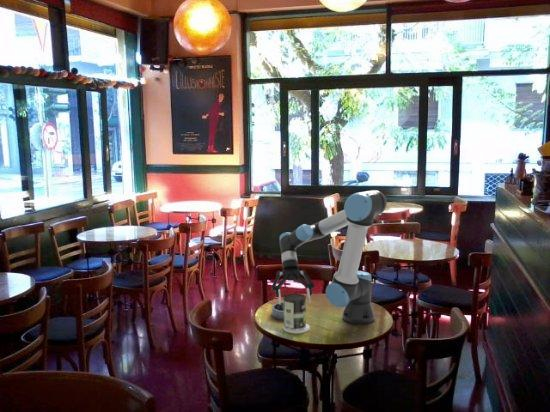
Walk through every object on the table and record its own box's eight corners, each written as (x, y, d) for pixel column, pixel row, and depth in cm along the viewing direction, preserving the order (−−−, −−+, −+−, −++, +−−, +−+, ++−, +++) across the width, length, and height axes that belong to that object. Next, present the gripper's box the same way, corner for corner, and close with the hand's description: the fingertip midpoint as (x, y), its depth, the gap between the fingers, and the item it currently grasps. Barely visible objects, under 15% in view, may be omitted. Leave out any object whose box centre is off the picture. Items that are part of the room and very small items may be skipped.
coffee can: (307, 323, 247) (307, 294, 245) (304, 331, 237) (304, 301, 235) (285, 321, 249) (285, 292, 247) (281, 329, 239) (281, 299, 237)
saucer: (313, 325, 246) (313, 324, 246) (304, 335, 235) (304, 333, 235) (289, 322, 251) (289, 320, 251) (279, 331, 240) (279, 329, 240)
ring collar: (305, 311, 265) (305, 304, 264) (295, 321, 252) (295, 313, 251) (279, 308, 270) (279, 300, 270) (267, 317, 257) (267, 309, 257)
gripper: (314, 265, 260) (320, 304, 247) (263, 267, 257) (267, 307, 244) (316, 257, 254) (322, 297, 241) (264, 259, 251) (268, 300, 238)
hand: (294, 302), depth 243 cm, fingers open, 13 cm apart
